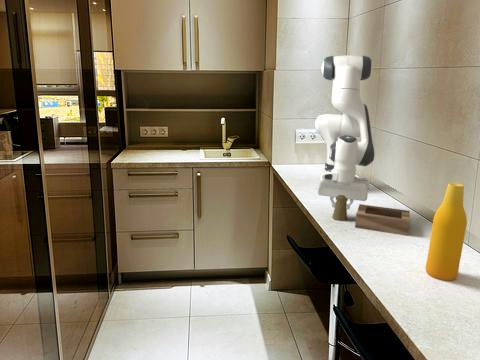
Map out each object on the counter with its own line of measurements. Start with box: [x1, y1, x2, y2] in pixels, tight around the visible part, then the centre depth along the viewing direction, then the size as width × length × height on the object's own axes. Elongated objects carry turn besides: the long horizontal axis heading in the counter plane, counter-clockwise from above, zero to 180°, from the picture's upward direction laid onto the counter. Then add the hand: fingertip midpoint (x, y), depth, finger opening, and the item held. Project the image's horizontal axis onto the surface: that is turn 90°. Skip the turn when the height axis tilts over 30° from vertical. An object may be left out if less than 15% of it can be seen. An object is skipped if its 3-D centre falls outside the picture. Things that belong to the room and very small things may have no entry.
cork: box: [331, 195, 349, 222], centre depth 184 cm, size 6×6×11 cm
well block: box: [354, 203, 411, 236], centre depth 179 cm, size 15×20×6 cm
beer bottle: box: [425, 182, 468, 281], centre depth 134 cm, size 9×9×29 cm
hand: (340, 208), depth 185 cm, fingers closed on cork, 4 cm apart
